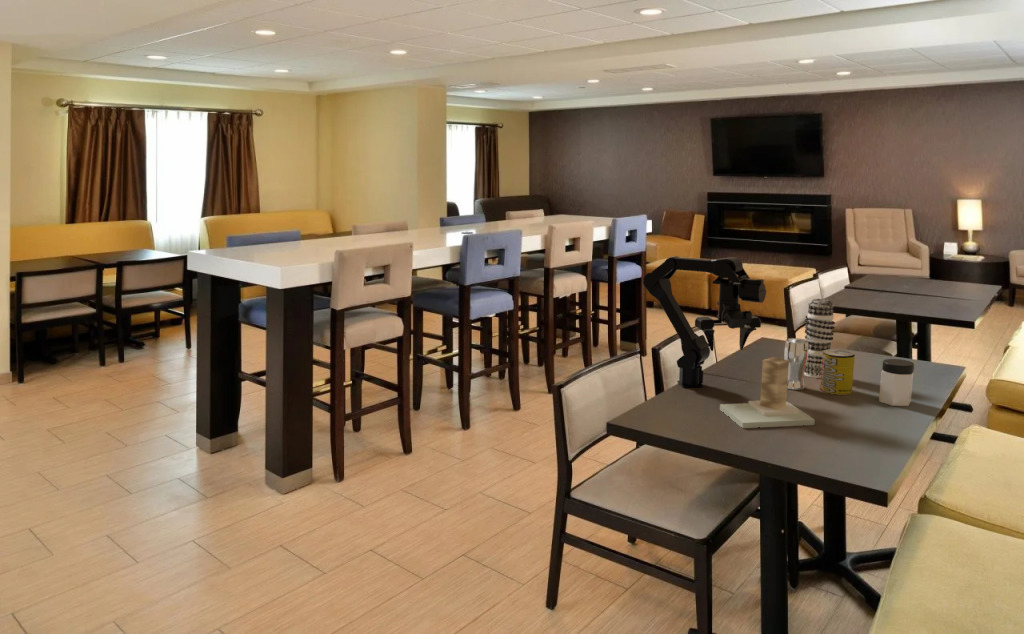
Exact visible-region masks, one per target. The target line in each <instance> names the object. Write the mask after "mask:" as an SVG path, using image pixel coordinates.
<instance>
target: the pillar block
mask: <svg viewBox="0 0 1024 634" xmlns="http://www.w3.org/2000/svg"><path fill="white" fill-rule="evenodd" d="M788 368H789V360H784V358H779V357H774V356H772V357H769V358H765V359H762V366H761V385H760V399H759V401H760V406H764V407H768V408H772V409H776V410H777V409H779V408H782V407H784V406H786V402H787V398H788V389H787V383H788Z"/></svg>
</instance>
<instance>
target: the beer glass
mask: <svg viewBox="0 0 1024 634" xmlns="http://www.w3.org/2000/svg"><path fill="white" fill-rule="evenodd" d="M784 344H785V345H784V354H783V356H784V358H783V359H784V360H789V368H788V383H787V390H791V391H801V390H802V391H803V390H804V389H805V381H804V380H805V379H804V378H805V375H804V373H805V369H806V365H807V361H808V340H805V338H797V337H795V338H793V337H791V338H786V339H785V343H784Z"/></svg>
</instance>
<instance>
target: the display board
mask: <svg viewBox="0 0 1024 634" xmlns="http://www.w3.org/2000/svg"><path fill="white" fill-rule="evenodd" d="M719 410H720V411H721V412H722V413H723V412H724V413H723V414H725V415H726V416H727V417H728V416H729V417H730V418H729V417H728V418H729V419H731V421H733V422H734V423H735V422H736V423H735V424H737V425H738V426H739V427H740V428H741V427H742V428H741V429H754V428H758V427H760V428H775V427H776V428H777V427H796V426H797V427H799V426H803V425H804V426H815V420H816V419H814V418H813V417H812V416H810V415H808V414H807V413H805V412H804V411H803V410H801V409H800V408H798V407H796V406H794V405H793V404H792V403H790V402H789V401H786V406H784V407H782V408H779V409H777V410H776V409H772V408H768V407H764V406H760V400H748V402H746V403H745V402H743V403H722V404H721V403H720V404H719Z"/></svg>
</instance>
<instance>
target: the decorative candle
mask: <svg viewBox="0 0 1024 634" xmlns="http://www.w3.org/2000/svg"><path fill="white" fill-rule="evenodd" d="M807 305H808V311H807V315H805V320H804V322H805V323H806V324H805V325H804V328H805V329H804V333H805V335H804V339H805V340H808V361H807V365H806V369H805V373H804V377H805V376H806V377H808V378H812V379H813V378H815V379H821V370H822V357H823V351H824V350H829V349H831V346H832V345H831V343H833V340H834V337H833V336H834V335H835V334H834V332H833V330H834V329H835V328H836V327H835V326H834V325H835V324H836V322H835V321H834V307H835V306H836V305H835V304H833V301H831V300H830V299H827V298H826V299H824V298H814V299H812V300H811V301H810V302H809V303H808V304H807Z"/></svg>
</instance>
